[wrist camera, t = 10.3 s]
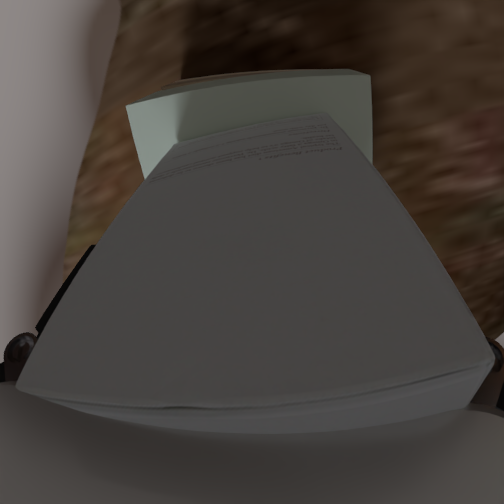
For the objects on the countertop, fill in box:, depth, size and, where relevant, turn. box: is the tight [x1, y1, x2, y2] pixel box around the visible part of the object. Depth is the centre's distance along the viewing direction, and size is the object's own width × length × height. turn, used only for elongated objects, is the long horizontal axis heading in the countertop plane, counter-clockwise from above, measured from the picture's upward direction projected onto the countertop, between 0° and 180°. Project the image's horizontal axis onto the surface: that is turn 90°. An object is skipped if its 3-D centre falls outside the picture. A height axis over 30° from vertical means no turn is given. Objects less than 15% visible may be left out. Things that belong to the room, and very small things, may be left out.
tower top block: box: [126, 69, 373, 179], centre depth 17 cm, size 11×11×4 cm
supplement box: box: [16, 113, 495, 434], centre depth 10 cm, size 7×7×13 cm
